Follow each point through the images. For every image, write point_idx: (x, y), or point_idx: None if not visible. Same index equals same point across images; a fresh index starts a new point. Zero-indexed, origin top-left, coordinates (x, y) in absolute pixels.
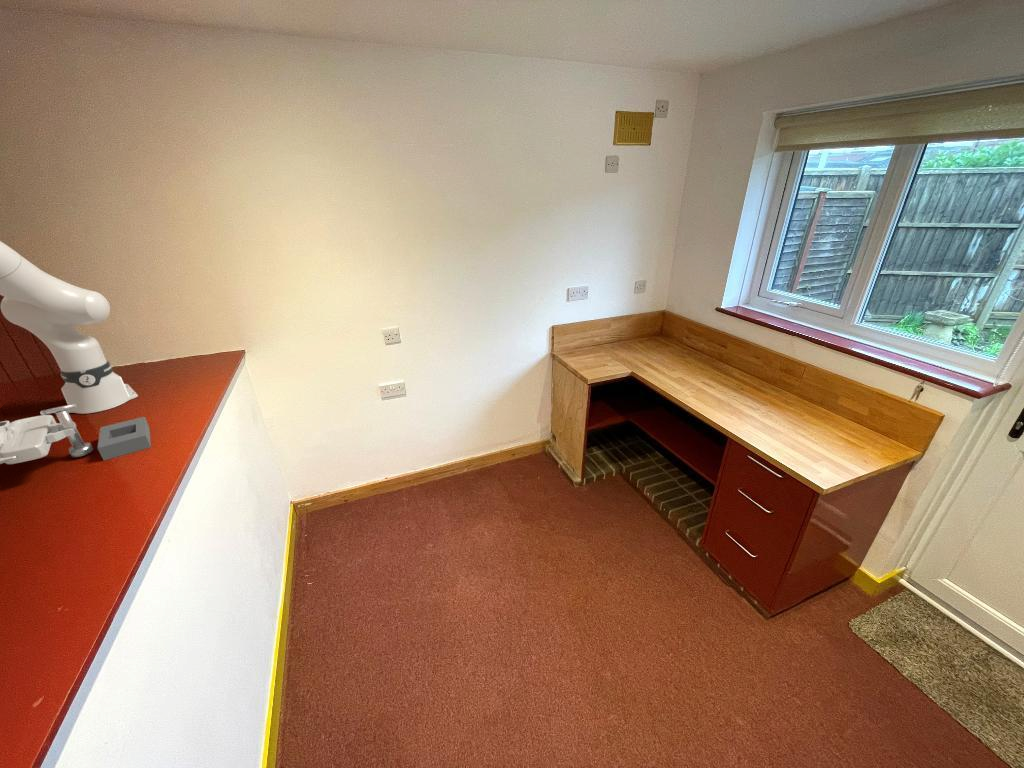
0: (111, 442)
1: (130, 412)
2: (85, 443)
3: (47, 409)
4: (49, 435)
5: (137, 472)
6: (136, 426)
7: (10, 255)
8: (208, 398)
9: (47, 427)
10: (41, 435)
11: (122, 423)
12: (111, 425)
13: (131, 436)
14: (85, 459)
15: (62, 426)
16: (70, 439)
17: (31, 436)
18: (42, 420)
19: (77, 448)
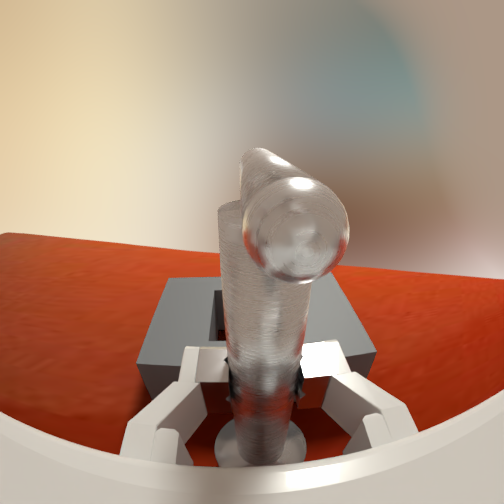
0: (344, 325)
1: (20, 334)
2: (232, 429)
3: (279, 167)
4: (411, 422)
5: (439, 315)
6: None
7: None
8: (116, 250)
9: (242, 467)
10: (463, 427)
11: (170, 313)
12: (154, 336)
13: (321, 292)
14: (308, 453)
15: (285, 371)
16: (285, 429)
17: (465, 499)
18: (8, 462)
19: (284, 447)
